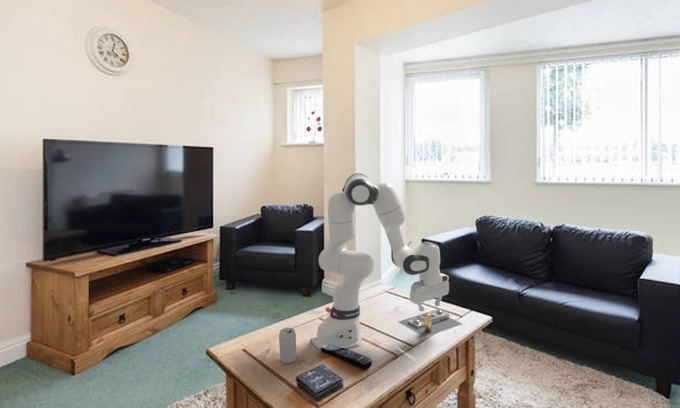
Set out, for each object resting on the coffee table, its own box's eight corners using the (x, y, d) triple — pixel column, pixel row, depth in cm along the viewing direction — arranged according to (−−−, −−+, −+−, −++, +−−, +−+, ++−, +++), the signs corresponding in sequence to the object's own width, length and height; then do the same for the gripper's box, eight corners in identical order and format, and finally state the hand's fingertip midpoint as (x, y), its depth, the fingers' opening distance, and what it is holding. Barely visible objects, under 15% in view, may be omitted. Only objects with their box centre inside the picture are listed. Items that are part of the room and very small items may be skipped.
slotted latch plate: (417, 328, 164) (417, 321, 164) (407, 322, 170) (407, 316, 170) (449, 318, 174) (449, 312, 174) (438, 313, 180) (438, 307, 180)
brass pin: (427, 333, 159) (428, 316, 158) (423, 331, 162) (423, 313, 161) (432, 331, 161) (433, 314, 160) (428, 329, 163) (428, 312, 162)
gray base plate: (424, 338, 156) (424, 337, 156) (397, 322, 172) (397, 321, 172) (462, 325, 168) (462, 324, 168) (434, 311, 184) (434, 310, 184)
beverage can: (291, 365, 137) (290, 335, 135) (276, 362, 139) (275, 333, 138) (299, 357, 142) (298, 328, 141) (285, 354, 145) (284, 325, 143)
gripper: (416, 285, 150) (416, 316, 152) (451, 275, 160) (451, 305, 162) (406, 280, 155) (406, 311, 158) (441, 271, 165) (440, 300, 167)
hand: (429, 308), depth 160 cm, fingers open, 8 cm apart
